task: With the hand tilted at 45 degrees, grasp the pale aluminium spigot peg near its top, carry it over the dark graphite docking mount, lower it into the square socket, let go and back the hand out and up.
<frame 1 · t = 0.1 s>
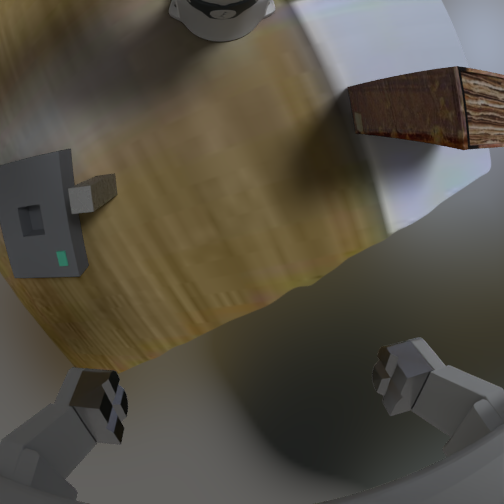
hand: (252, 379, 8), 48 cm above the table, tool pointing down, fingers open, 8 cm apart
book: (403, 107, 51), on the table
docking mount: (42, 213, 51), on the table
spigot peg: (106, 185, 51), on the table
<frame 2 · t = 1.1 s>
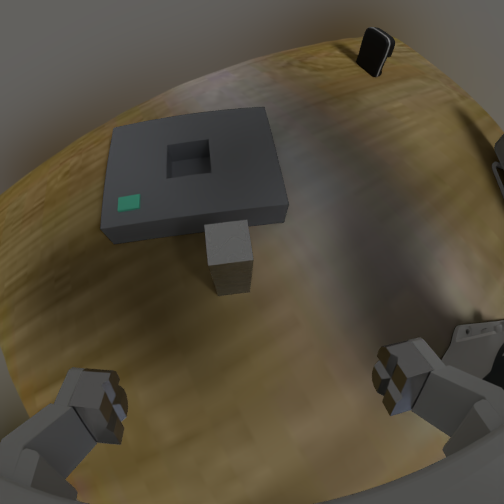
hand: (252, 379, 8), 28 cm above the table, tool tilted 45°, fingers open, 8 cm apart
battery charger: (369, 69, 58), on the table
docking mount: (192, 178, 44), on the table
spigot peg: (231, 278, 39), on the table
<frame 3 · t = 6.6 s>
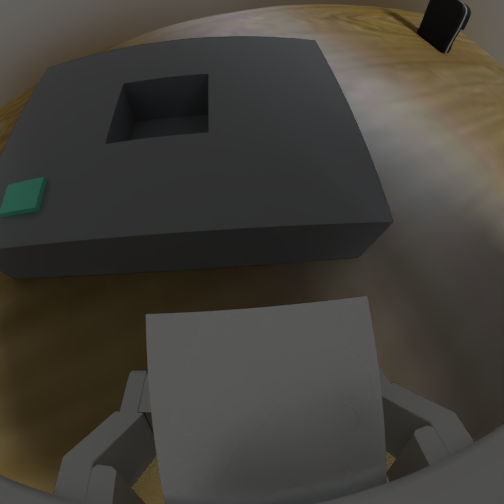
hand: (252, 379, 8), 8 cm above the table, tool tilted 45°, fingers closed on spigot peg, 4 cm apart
battery charger: (433, 44, 36), on the table
docking mount: (170, 154, 21), on the table
spigot peg: (243, 386, 15), on the table, touching gripper
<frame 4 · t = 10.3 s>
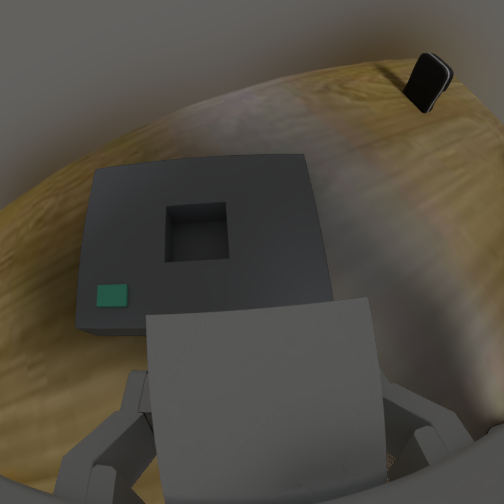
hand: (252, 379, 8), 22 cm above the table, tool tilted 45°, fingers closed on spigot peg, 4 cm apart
battery charger: (417, 102, 48), on the table
docking mount: (200, 251, 33), on the table
spigot peg: (243, 387, 15), point 14 cm above the table, touching gripper
when the fingers open (10 cm above the table, at t = 14.3 s): spigot peg drops 1 cm, resting on docking mount.
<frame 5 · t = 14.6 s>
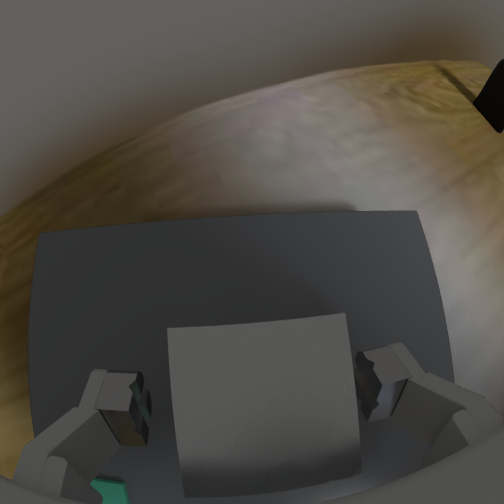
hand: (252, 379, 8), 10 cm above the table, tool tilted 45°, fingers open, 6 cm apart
battery charger: (488, 118, 33), on the table
docking mount: (241, 384, 18), on the table
spigot peg: (244, 385, 17), point 1 cm above the table, touching docking mount
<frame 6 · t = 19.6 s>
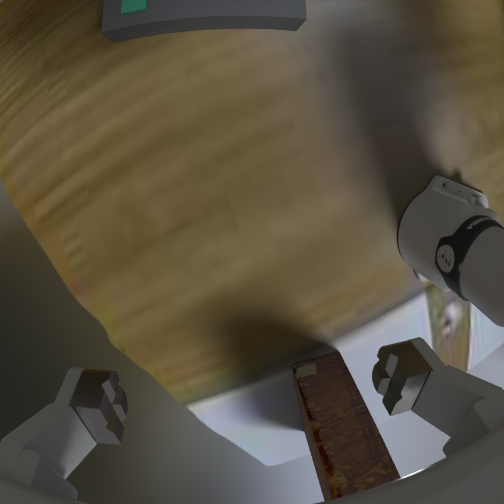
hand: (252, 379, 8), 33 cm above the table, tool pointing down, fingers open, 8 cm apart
book: (319, 396, 58), on the table
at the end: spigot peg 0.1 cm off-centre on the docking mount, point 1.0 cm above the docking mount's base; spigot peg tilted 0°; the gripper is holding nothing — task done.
